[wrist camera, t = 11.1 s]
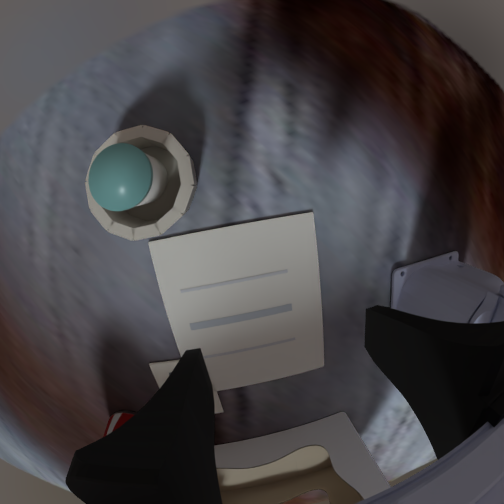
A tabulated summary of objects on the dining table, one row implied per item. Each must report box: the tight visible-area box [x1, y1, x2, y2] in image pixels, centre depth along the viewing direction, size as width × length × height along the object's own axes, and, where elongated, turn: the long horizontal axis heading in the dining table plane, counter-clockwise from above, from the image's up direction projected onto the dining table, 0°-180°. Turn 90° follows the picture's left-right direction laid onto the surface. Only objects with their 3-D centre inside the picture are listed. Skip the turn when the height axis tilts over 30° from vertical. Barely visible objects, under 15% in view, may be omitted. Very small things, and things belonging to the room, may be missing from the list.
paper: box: [148, 212, 324, 392], centre depth 21 cm, size 12×14×1 cm
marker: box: [88, 143, 168, 211], centre depth 14 cm, size 3×3×7 cm
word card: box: [149, 359, 224, 414], centre depth 22 cm, size 5×7×1 cm
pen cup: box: [85, 125, 197, 241], centre depth 16 cm, size 6×6×4 cm
